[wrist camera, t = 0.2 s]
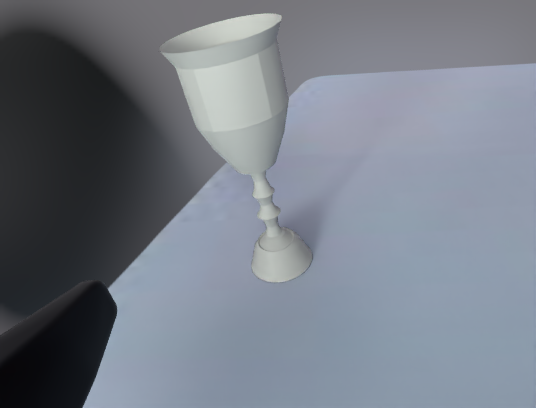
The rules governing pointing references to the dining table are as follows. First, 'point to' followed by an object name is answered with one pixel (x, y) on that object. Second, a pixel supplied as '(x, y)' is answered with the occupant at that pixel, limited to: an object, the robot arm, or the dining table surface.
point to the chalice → (243, 118)
